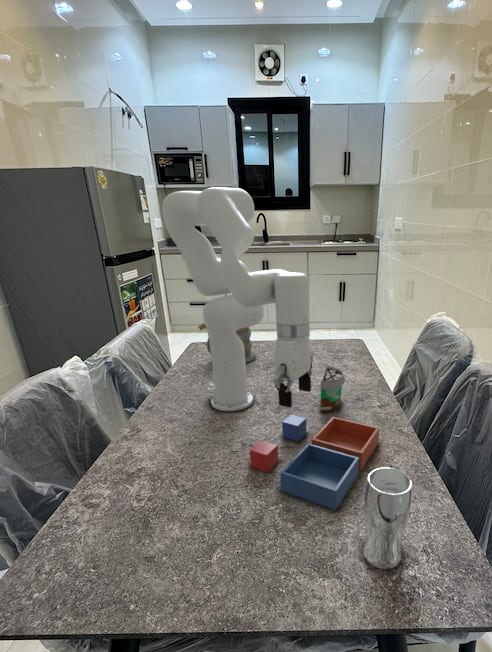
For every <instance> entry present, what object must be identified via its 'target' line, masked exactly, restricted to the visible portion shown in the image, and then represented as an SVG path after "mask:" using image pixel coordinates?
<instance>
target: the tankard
mask: <svg viewBox="0 0 492 652" xmlns="http://www.w3.org/2000/svg"><path fill="white" fill-rule="evenodd" d="M198 329H199V330H200V331H202V330H204V329H205V330H207V329H206V325H205V322H203V323H201V324H200V325H198ZM236 334H237V335H238V336H239V338H240V339H241V340H242V342H243V344H244V351H245V363H246V364H247V363H250V362H253V361H254V358H255V352H254V351H252V346H253V344H252V340H251V336H252V330H251V328H250V327H246V328H242V329H239V330H236ZM206 350H207V352H208V353H209V354H210V355H211V349H210V342H209V336H208V335H207V340H206Z"/></svg>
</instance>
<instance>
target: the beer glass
mask: <svg viewBox="0 0 492 652" xmlns="http://www.w3.org/2000/svg"><path fill="white" fill-rule="evenodd" d="M412 498H413V481H412V479H411V477H410V476H409V475H408V473H406V472H404V471H402V470H400V469H397V468H395V467H394V468H393V467H379V468H375V469H373V470H372V471H370V473H368V475H367V482H366V487H365V492H364V505H363V506H364V507H363V508H364V518H365V525H366V533H367V534H366V540H365V543H364V545H363V556H364V558H365V560H366V561H367V562H368V563H369V564H370V565H371V566H373V567H375V568H377V569H381V570H389V569H393V568H395V567H396V566H398V565H400V564H399V563H401V560H402V549H401V542H402V537H403V535H404V532H405V530H406V527H407V524H408V521H409V518H410V515H411V509H412V500H413V499H412Z"/></svg>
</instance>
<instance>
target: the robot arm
mask: <svg viewBox="0 0 492 652" xmlns="http://www.w3.org/2000/svg"><path fill="white" fill-rule="evenodd" d="M162 201H163V202H162V206H161V207H162V209H161V211H162V219H163V222H164V225H165V229H166V231H167V233H168V235H169V236H170V238H171V240H172V241H173V243H174V244H175V245H176V247H177V248H178V250H179V252H180V254H181V256H182V257H183V260H184V263H185V265H186V267H187V269H188V272H189V274H190V277H191V279H192V281H193V284H194V286H195V288H196V290H197V291H198V293H199V294H201V295H202V296H204V297H215V296H219V297H215V298H213V299H209V300H208V301H207V302H206V303H205V304H204V305H203V308H202V318H203V323H205V325H206V329H205V330H206V332H207V337H208V336H209V342H210V349H211V354H210V356H211V365H212V374H213V376H212V377H213V383H209V384H208V387H207V388H206V393H209V394H212V397H211V399H210V404H211V407H212V408H214V410H218V411H221V412H236V411H242V410H245V409H246V408H248V407H250V406H251V405H253V403H254V396H253V394H251V393H250V392H248V377H247V366H246V364H247V363H245V351H244V344H243V342H242V340H241V339H240V338H239V336H238V335H237V334H236V330H239V329H242V328H246V327H249V328H250V327H252V326H256V325H258V324H260V323H261V322H262V321H263V319H264V315H265V307H264V306H266V305H269V304H271V305H272V304H275V324H276V340H275V347H274V375H273V377H272V381H273V383H274V387H275V388H276V391H278V405H279V406H282V407H284V408H285V407H286V408H291V407H292V406H293V398H292V397H293V395H292V394H293V393H292V390H291V387H292V384H293V382H295V381H296V380H298V390H299V391H303V392H308V393H309V392H311V391H312V369H313V360H314V355H313V354H312V353H311V351H312V350H311V341H310V336H311V325H310V322H311V319H310V279H309V276H308V275H307V274H306V273H304V272H298V271H297V272H294V271H291V272H290V271H287V270H285V269H281V268H273V269H272V268H271V269H264V270H256V271H250V270H249V268H248V266H247V265H246V264H245V263H244V262H243V261H242V260H240V259H239V257H240V256H242V255H243V254H245V252H247V251H248V250H249V249H250V247H251V246H252V244H253V243H254V240H255V233H254V229H252V227H251V226H250V224H249V223H250V222H251V221H252V220H253V218H254V215H255V203H254V200H253V198H252V196H251V195H250V194H249V193H248V192H247V191H246V190H244V189H242V188H239V187H221V186H220V187H219V186H217V187H216V186H215V187H208V188H205V189H204V190H202V191H199V190H179V191H174V192H171V193H169V194H167V195H166V196H165V197H164V199H163V200H162ZM199 226H201V227H204V226H207V228H208V229H209V230H210V232H211V234H212V235H213V237H214V238H215V240H216V242H217V243H218V244H219V246H220V247H221V249H222V250H221V254H220V257H218V255H217V254H216V252H215V249H214V248H213V245H212V243H211V241H209V239H208V238H207V236H205V235H204V234H203V233H202V232H200V231H199V230H198V229H197V228H196V227H199ZM226 294H227V295H226ZM230 294H231V295H230ZM221 295H224V296H221ZM284 382H286V384H285V383H284Z"/></svg>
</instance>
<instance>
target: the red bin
mask: <svg viewBox="0 0 492 652" xmlns="http://www.w3.org/2000/svg"><path fill="white" fill-rule="evenodd" d="M379 439H380V427H378V426H373V425H369V424H365V423H360V422H357V421H353V420H348V419H345V418H340V417H335V416H332V417H331V418H330V419H329V420H328V421H327V422H326V424H324V426H323V427H321V429H320V430H319V431H317V433H316V434H315V435H314V436H313V437H312V438H311V444H312V445H316V446H319V447H323V448H327V449H330V450H334V451H337V452H341V453H344V454H348V455H351V456H355V457H358V458H359V468H358V471H362V470H363V468H364V467H365V466H366V464H367V462H368V460H369V459H370V457H371V456H372V454H373V452H374V451H375V450H376V448H377V446H378V445H379Z"/></svg>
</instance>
